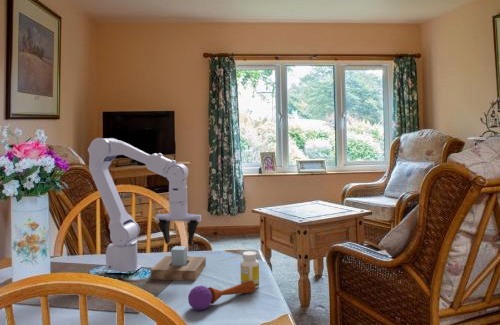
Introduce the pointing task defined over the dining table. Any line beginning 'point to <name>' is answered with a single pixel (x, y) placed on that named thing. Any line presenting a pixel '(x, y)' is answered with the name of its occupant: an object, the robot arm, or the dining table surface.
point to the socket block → (178, 269)
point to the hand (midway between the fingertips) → (179, 243)
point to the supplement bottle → (250, 268)
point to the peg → (179, 256)
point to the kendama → (215, 294)
